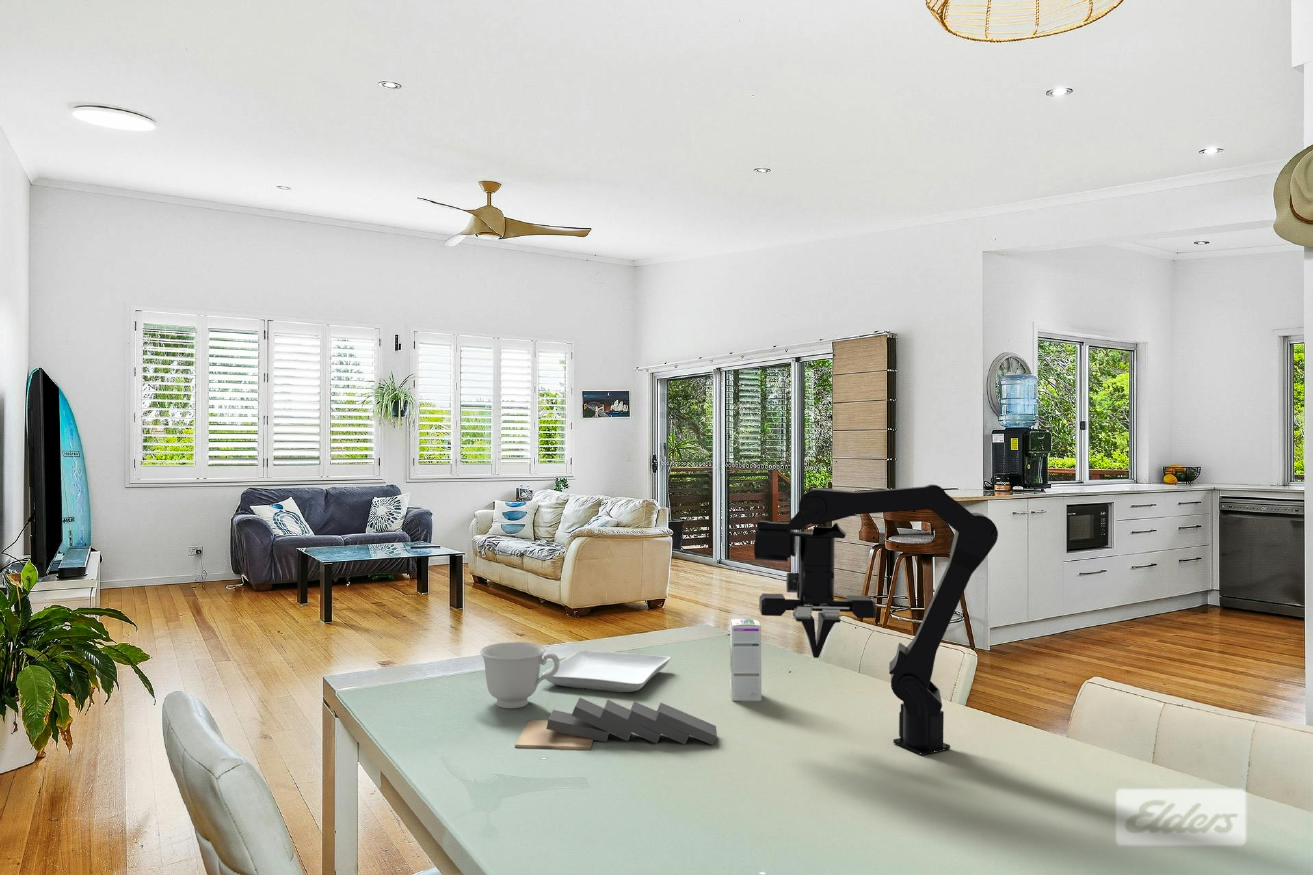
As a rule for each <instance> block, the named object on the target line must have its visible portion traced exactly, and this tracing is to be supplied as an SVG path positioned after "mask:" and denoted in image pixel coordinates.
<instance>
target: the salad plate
mask: <svg viewBox="0 0 1313 875" xmlns="http://www.w3.org/2000/svg"><path fill="white" fill-rule="evenodd" d="M670 661H671V656H668V655H667V656H666V655H665V656H664V655H663V656H662V655H654V654H653V655H652V654H640V653H630V652H614V651H613V652H611V651H596V650H594V651H593V650H578V651H576V652H574V653H573V654H571V655H570V656H568V657H566V658H564V659H563V660H561V661H559V669H558V671H557V672H556V674H555V675H554V676H552V677H550V678H547V679H545V681H548V682H549V683H551V684H554V685H556V686H563V687H567V688H573V689H574V688H575V689H576V688H577V689H584V688H587V689H586V690H594V689H597V690H596V691H604V690H607V691H606V692H615V691H622V692H621V693H631V692H637V691H640V689H642V688H643V686H645V684H647V682H648V681H649V680H651V679H652V678H653V677H654V676H656V674H657V673H659V672H660V671H661V670H663V669H664V668H665V667H666V665H668V664H669V662H670ZM553 668H554V665H553V666H552V667H550V668H549V669H547V670H545V671H544V672H543V673H541V676H543V675H545V674H547V673H549V672H551V671H552V670H553Z"/></svg>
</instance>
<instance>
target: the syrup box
mask: <svg viewBox="0 0 1313 875" xmlns="http://www.w3.org/2000/svg"><path fill="white" fill-rule="evenodd" d="M729 625H730V626H729V627H730V628H729V629H730V630H729V632H730V633H729V649H730V650H729V652H730V653H729V657H730V660H729V661H730V662H729V664H730V665H729V666H730V667H729V673H730V674H729V678H730V679H729V680H730V684H729V685H730V687H729V689H730V692H729V693H730V697H731V700H732V701H733V702H734V701H735V702H762V626H761V624H760V621H759V619H755V618H734V619H730V623H729Z"/></svg>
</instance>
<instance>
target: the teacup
mask: <svg viewBox="0 0 1313 875" xmlns="http://www.w3.org/2000/svg"><path fill="white" fill-rule="evenodd" d="M546 652H547V650H546V648H545V647H544V646H543V645H541V644H537V643H533V642H532V643H531V642H521V641H519V642H518V641H517V642H501V643H494V644H489V645H487V646H484V647H483V648H481V650H479V654H480V655H481V656H482V658H483V662H484V670H485V679H486V680H485V681H486V686H487V691H488V692H489V694H490V695H491V696H492V697H494V698H495V699H496V706H497V707H500V708H501V709H502V708H503V709H520V708H522V707H525V706H527V705H528V704H529V701H528V698H529V697H531V696H533V695H534V694H535V692H536V690H537V689H538V688H537V687H538V685H539V684H540V683H541V682H542V681H544V680H546V679H547V678H550V677H552V676H554V675H555V674H556V672H557V671H558V669H559V663H560V658H559V656H558V655H557V654H556V653H554V652H547V653H546ZM544 653H546V654H545V655H544ZM548 659H551V660H552V661H553V663H554V664H553V666H554V668H553V670H552V671H551V672H549V673H547V674H545V675H543V676H542V675H541V676H540V671H541V665H542V666H545V665H546V663H547V660H548Z"/></svg>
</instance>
